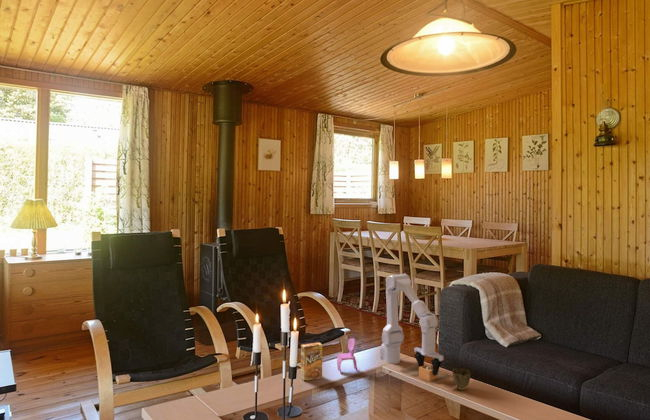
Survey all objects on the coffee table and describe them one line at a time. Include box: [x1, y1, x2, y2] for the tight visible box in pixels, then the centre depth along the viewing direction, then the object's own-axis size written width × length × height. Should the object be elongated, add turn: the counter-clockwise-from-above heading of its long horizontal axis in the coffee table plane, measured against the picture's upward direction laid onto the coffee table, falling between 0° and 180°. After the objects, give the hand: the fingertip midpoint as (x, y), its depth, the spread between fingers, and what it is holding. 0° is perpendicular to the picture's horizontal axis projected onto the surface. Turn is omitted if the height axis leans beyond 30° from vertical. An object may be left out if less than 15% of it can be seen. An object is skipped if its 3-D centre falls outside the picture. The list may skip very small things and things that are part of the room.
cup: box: [451, 367, 472, 392], centre depth 195 cm, size 8×7×8 cm
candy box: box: [300, 341, 323, 381], centre depth 206 cm, size 9×4×15 cm, turn 113°
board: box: [397, 363, 453, 385], centre depth 210 cm, size 20×14×1 cm
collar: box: [419, 363, 438, 381], centre depth 205 cm, size 6×6×4 cm
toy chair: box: [336, 337, 359, 374], centre depth 215 cm, size 8×9×15 cm
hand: (428, 372), depth 205 cm, fingers open, 7 cm apart
